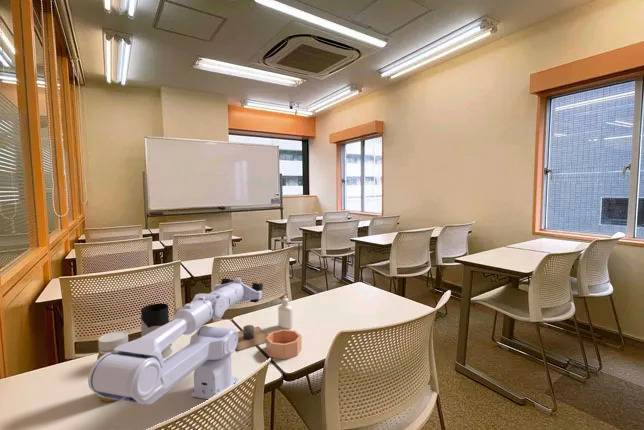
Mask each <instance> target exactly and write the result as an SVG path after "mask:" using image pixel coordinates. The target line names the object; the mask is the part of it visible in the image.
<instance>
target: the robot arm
mask: <svg viewBox="0 0 644 430" xmlns="http://www.w3.org/2000/svg"><path fill="white" fill-rule="evenodd" d="M220 283H221V284H220ZM220 283H216V284H214V285H213V291H211V292H209V293H198V294H197V293H196V294H195V295H194V297H193V299H192V301H191V302H190V303H186V304H184V306H183V307H184V308H181V309H179V310H178V311H177V312H176V314H175V313H174V314H175V316H174V315H173V319H172V320H171V322H169V323H167V324H165V325H163V326H161V327H160V328H158V329H156V330H154V331H152V332H150V333H148V334H146V335H145V336H143V337H142V336H141V337H138V338H136V339H133V340H130V341H128V342H127V343H124V344H122V345H119V346H117V347H116V348H115V349H114V350H115V351H119V352H118V353H113V352H111V353H106V354H104V355H103V356H101V357H100V358H99V359H98V360H96V361H95V362H94V364H93V365H92V367H91V369H90V370H89V372H88V373H89V374H88V381H87V383H88V388H89V389H90V390H91V391H92V392H93V393H94V394H96V395H97V396H98V397H99V396H100V397H104V398H109V399H115V400H116V401H121V402H127V403H133V404H137V405H152V404H154V403H156V402H157V400H159V399H160V398H162V397H163V396H164V395H165V394H166V393H168V392H169V391H170V390H172V389H173V388H174V387H175V386H177V385H178V384H179V383H181V382H182V381H183V380H184V379H185V378H187V377H188V376H190V374H192V373H193V391H192V393H191V397H193V398H199V399H204V400H209V398H211V397H213V396H214V395H216V394H218V393H220V392H221V391H222V390H224V389H226V388H227V387H229V386H231V385H232V384H234V383H235V382H236V383H237V382H238V381H239V377H235V376H232V374H233V373H232V372H233V371H232V354H233V353H234V352H235V351H236V347H237V343H238V333H237V332H238V331H237V330H236V328H224V327H216V326H215V327H214V326H208V325H206V323H208V322H209V321H210V320H211V319H212V320H216V319H219V320H220V319H221V318H222V317H223V316H224V314H225V311H227V310H228V309H229V308H231V307H233V306H235V305H236V304H238V303H243V302H247V301H249V302H250V303H257V302H259V300H260V299H262V297H263V289H264V287H263V285H264V283H262V282H261V283H260V282H259V283H258V282H257V283H256V282H252V285H251V287H250V286H248V285H247V284H245V283H243V282H242V279H241V278H239V277H235V278H234V279H230V278H225V277H224V278H222V279H221V282H220ZM193 333H194V334H193ZM191 334H193V335H191ZM181 335H184V336H188V335H191V336H190V340H189V344H187V345H186V346H184V347H183V348H181V349H180V350H178V351H177V352H175V353H174V354H172V355H171V356H170V355H169V356H168V357H166V358H165V359H163V357H162V355H161V352H162V351H163V350H164V349H166V348H167V347H168V346H169V345H170V344H171V343H172V344H173V343H174V342H175V341H176V340H177V339H178V338H180V337H181ZM236 383H235V384H236ZM235 384H234V385H235Z"/></svg>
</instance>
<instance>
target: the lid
mask: <svg viewBox="0 0 644 430" xmlns="http://www.w3.org/2000/svg"><path fill="white" fill-rule="evenodd" d="M237 333H238V343H237V347H236V349H235V351H237V352H241V351H243V350H244V351H245V350H247V349H251V348H253V347H257V346H260V345H264V344H266V338H267V336H268V335H269V334H268V333H267V332H266V331H265V330H263V328H261V327H260V326H254V325H252V324H248V325H244V326H243V327H242V330H239V331H237Z"/></svg>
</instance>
